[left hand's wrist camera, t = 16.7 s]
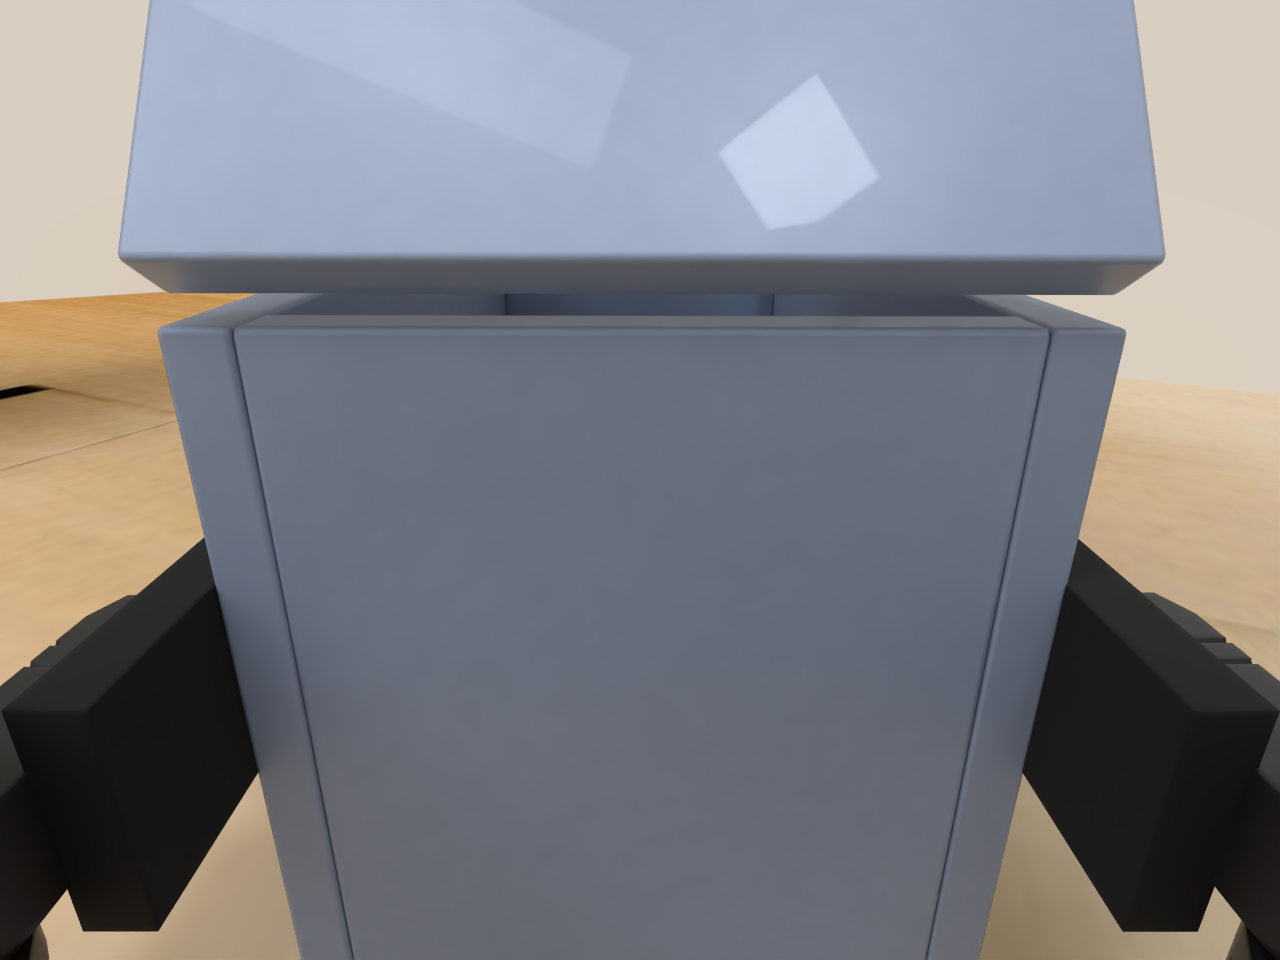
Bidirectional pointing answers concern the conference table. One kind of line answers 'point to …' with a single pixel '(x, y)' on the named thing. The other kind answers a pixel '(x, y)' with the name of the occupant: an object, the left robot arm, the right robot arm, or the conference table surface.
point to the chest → (640, 608)
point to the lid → (642, 147)
